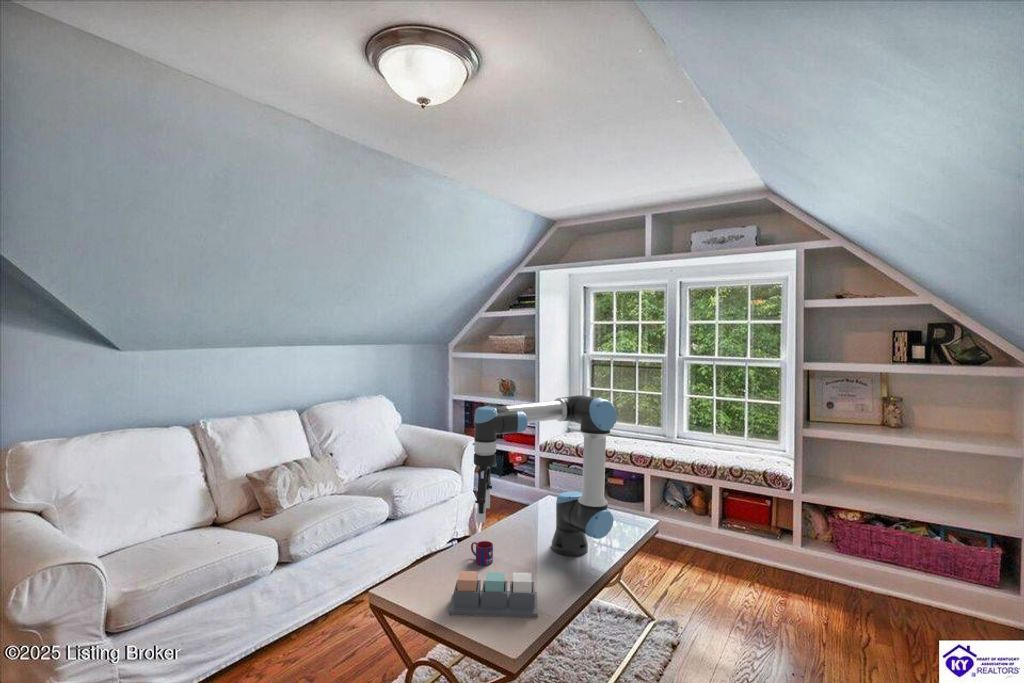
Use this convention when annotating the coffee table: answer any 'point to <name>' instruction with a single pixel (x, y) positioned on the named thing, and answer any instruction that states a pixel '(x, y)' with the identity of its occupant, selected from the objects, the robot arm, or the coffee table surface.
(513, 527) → the coffee table surface
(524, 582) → the ivory key
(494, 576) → the teal key
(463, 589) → the terracotta key
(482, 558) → the mug
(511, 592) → the console
